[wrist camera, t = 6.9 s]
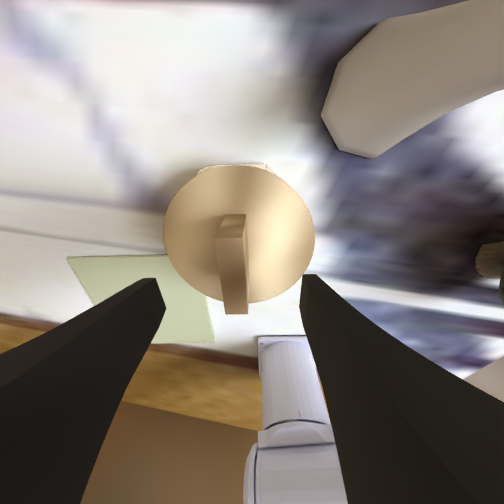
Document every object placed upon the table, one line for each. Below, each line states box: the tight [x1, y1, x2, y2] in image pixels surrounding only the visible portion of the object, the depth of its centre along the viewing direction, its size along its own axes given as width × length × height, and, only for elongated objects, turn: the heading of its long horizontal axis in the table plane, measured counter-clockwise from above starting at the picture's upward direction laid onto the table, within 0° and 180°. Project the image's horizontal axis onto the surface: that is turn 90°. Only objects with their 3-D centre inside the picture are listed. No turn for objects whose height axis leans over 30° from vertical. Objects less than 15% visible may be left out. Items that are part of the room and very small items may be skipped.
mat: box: [66, 255, 215, 343], centre depth 23 cm, size 14×14×1 cm
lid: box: [163, 165, 315, 314], centre depth 12 cm, size 11×11×5 cm
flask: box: [320, 0, 504, 159], centre depth 9 cm, size 7×7×10 cm
